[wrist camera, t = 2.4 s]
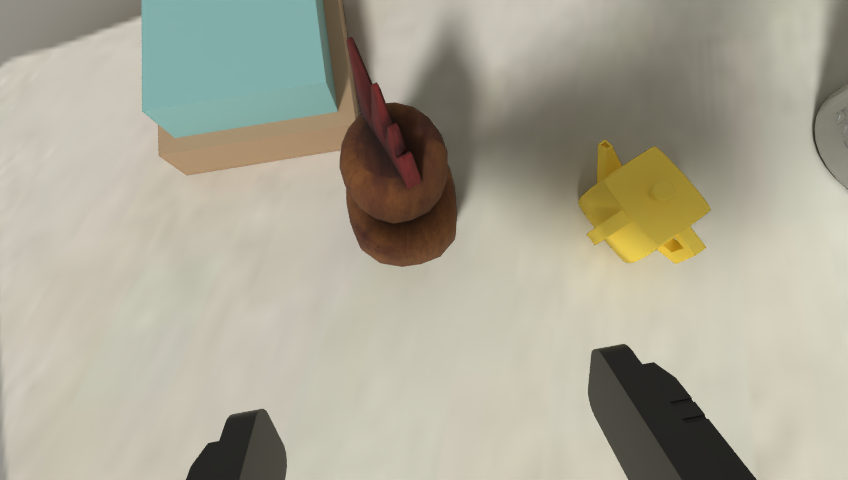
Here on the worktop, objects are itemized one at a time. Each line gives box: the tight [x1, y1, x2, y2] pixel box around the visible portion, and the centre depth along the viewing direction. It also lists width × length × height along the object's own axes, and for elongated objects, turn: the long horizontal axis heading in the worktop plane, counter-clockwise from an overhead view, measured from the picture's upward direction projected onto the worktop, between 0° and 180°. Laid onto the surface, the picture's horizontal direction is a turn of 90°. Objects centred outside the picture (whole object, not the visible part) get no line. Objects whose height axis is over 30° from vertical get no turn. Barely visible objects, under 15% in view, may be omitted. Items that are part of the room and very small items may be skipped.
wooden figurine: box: [340, 37, 457, 267], centre depth 20 cm, size 7×6×15 cm
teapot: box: [578, 140, 711, 264], centre depth 25 cm, size 8×6×5 cm
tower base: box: [142, 0, 359, 175], centre depth 27 cm, size 12×12×6 cm
